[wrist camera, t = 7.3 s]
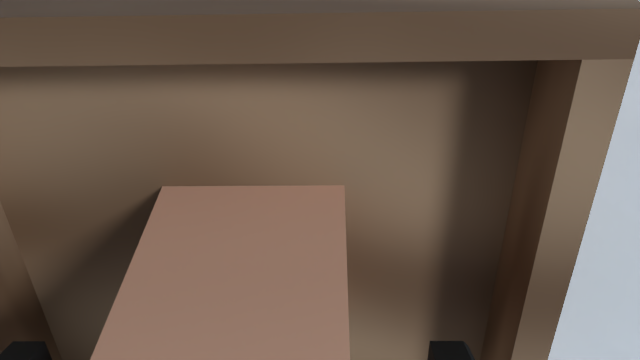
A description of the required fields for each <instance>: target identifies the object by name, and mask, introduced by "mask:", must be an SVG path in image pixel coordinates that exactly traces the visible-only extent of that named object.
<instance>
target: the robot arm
mask: <svg viewBox="0 0 640 360" xmlns="http://www.w3.org/2000/svg"><path fill="white" fill-rule="evenodd" d="M0 360H52V358H51V355H50V353H49V350H48V348H47V345H46V343H45V341H13V342H12V343H11V344H10V345H9V346H8V347H7V348H6V349H5V350H3V351H2V352H1V353H0ZM427 360H475V359H474V357H473V355H472V353H471V351H470V348H469V346H468V345H467V344H466V343H465V342H464V341H430V343H429V351H428V359H427Z"/></svg>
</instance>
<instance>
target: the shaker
mask: <svg viewBox="0 0 640 360" xmlns="http://www.w3.org/2000/svg"><path fill="white" fill-rule="evenodd" d="M90 360H350V341H349V310H348V279H347V248H346V217H345V186H344V185H309V186H162V188H161V191H160V193H159V196H158V198H157V200H156V203H155V205H154V208H153V210H152V212H151V215H150V217H149V220H148V222H147V224H146V227H145V229H144V232H143V234H142V236H141V239H140V241H139V244H138V246H137V248H136V251H135V253H134V256H133V258H132V260H131V263H130V265H129V268H128V270H127V272H126V275H125V277H124V280H123V282H122V284H121V287H120V289H119V292H118V294H117V296H116V299H115V301H114V304H113V306H112V308H111V311H110V313H109V316H108V318H107V320H106V323H105V325H104V328H103V330H102V332H101V335H100V337H99V340H98V342H97V344H96V347H95V349H94V352H93V354H92V356H91V359H90Z"/></svg>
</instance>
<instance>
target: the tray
mask: <svg viewBox="0 0 640 360" xmlns="http://www.w3.org/2000/svg"><path fill="white" fill-rule="evenodd" d="M639 40H640V2H639V1H638V0H0V353H1V352H2V351H3V350H5V349H6V348H7V347H8V346H9V345H10V344H11V343H12V342H13V341H45V343H46V345H47V348H48V350H49V353H50V355H51V358H52V360H90V359H91V356H92V354H93V352H94V349H95V347H96V344H97V342H98V340H99V337H100V335H101V332H102V330H103V328H104V325H105V323H106V320H107V318H108V316H109V313H110V311H111V308H112V306H113V304H114V301H115V299H116V296H117V294H118V292H119V289H120V287H121V284H122V282H123V280H124V277H125V275H126V272H127V270H128V268H129V265H130V263H131V260H132V258H133V256H134V253H135V251H136V248H137V246H138V244H139V241H140V239H141V236H142V234H143V232H144V229H145V227H146V224H147V222H148V220H149V217H150V215H151V212H152V210H153V208H154V205H155V203H156V200H157V198H158V196H159V193H160V191H161V188H162V186H309V185H344V186H345V217H346V248H347V279H348V310H349V341H350V360H427V359H428V351H429V343H430V341H464V342H465V343H466V344H467V345H468V346H469V348H470V351H471V353H472V355H473V357H474V359H475V360H547V359H548V356H549V352H550V349H551V345H552V342H553V339H554V335H555V332H556V328H557V325H558V321H559V318H560V314H561V311H562V307H563V304H564V300H565V297H566V293H567V290H568V286H569V283H570V280H571V276H572V273H573V269H574V266H575V262H576V259H577V255H578V252H579V248H580V245H581V241H582V238H583V234H584V231H585V227H586V224H587V221H588V217H589V214H590V210H591V207H592V203H593V200H594V196H595V193H596V189H597V186H598V182H599V179H600V175H601V172H602V168H603V165H604V162H605V158H606V155H607V151H608V148H609V144H610V141H611V137H612V134H613V130H614V127H615V123H616V120H617V116H618V113H619V109H620V106H621V103H622V99H623V96H624V92H625V89H626V85H627V82H628V78H629V75H630V71H631V68H632V64H633V61H634V57H635V54H636V50H637V47H638V44H639Z"/></svg>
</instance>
